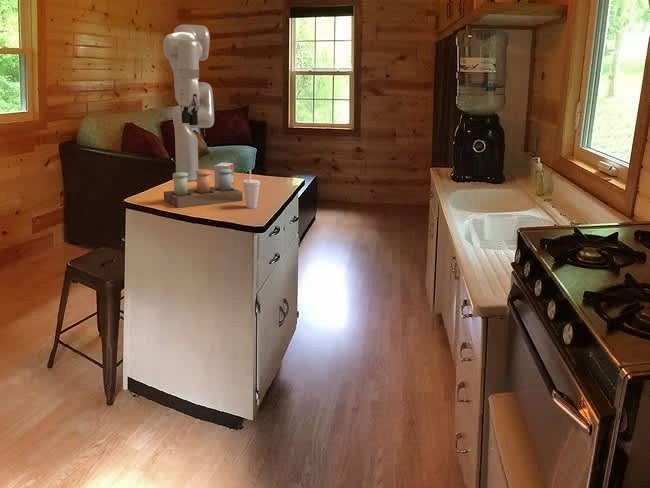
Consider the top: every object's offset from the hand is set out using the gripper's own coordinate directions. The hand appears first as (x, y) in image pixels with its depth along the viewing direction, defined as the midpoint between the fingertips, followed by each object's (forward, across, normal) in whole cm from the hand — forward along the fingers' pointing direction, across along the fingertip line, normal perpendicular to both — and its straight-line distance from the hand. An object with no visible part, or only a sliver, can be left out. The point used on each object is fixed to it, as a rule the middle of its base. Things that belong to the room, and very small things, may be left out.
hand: (189, 123), depth 236 cm
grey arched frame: (+28, -3, +16) cm, 32 cm away
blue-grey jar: (+24, +11, +9) cm, 28 cm away
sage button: (+24, +11, -9) cm, 28 cm away
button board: (+28, +11, 0) cm, 30 cm away
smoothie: (+28, +28, +11) cm, 41 cm away
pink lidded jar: (+24, +11, 0) cm, 27 cm away
